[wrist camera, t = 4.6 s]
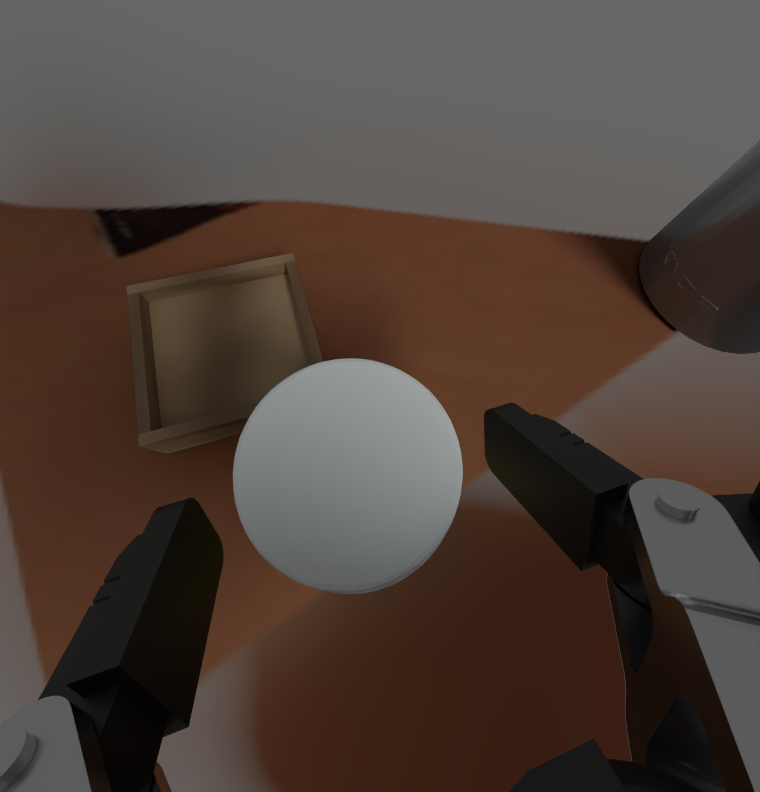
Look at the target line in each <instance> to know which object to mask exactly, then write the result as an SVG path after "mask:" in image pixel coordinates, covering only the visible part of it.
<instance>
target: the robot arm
mask: <svg viewBox="0 0 760 792" xmlns="http://www.w3.org/2000/svg"><path fill="white" fill-rule="evenodd" d="M639 272H640V278H641V282H642V285H643V288H644V291H645V292H646V294H647V296H648V298H649V300H650V302H651V303H652V305H653V306H654V307H655V308H656V310H657V311H658V312H659V313H660V315H661V316H662V317H663V318H664V319H665V320H666V321H668V322H669V323H670V324H671V325H672V326H673V327H674V328H675V329H677V330H678V331H680V332H681V333H683V334H684V335H686V336H687V337H689V338H690V339H692V340H694V341H696V342H698V343H700V344H702V345H704V346H706V347H709V348H713V349H716V350H719V351H723V352H728V353H736V354H749V353H757V352H760V140H759V141H758V142H757V143H756V144H755V145H754V146H753V147H752V148H751V149H749V150H748V151H747V152H746V153H745V154H744V155H743V156H742V157H741V158H740V159H739V160H737V161H736V162H735V163H734V164H733V165H732V166H731V167H730V168H729V169H728V170H726V171H725V172H724V173H723V174H722V175H721V176H720V177H719V178H718V179H717V180H715V181H714V182H713V183H712V184H711V185H710V186H709V187H708V188H707V189H705V190H704V191H703V192H702V193H701V194H700V195H699V196H698V197H697V198H696V199H695V200H693V201H692V202H691V203H690V204H689V205H688V206H687V207H686V208H685V209H684V210H683V211H681V213H679V214H678V215H677V216H676V217H675V218H674V219H673V220H672V221H671V222H670V223H668V225H666V226H665V227H664V228H663V229H662V230H661V231H660V232H659V233H658V234H657V235H656V236H654V237H653V238H652V239H651V240H650V241H649V242H648V243H647V244H646V246H645V248H644V249H643V251H642V253H641V257H640V262H639ZM484 437H485V457H486V460H487V463H488V466H489V468H490V469H491V471H492V472H493V474H494V475H495V476H496V477H497V478H498V479H499V480H500V481H501V483H502V484H503V485H504V486H505V487H506V488H507V489H508V490H509V492H510V493H511V494H512V495H513V496H514V497H515V498H516V499H517V500H518V502H519V503H520V504H521V505H522V506H523V507H524V508H525V509H526V510H527V512H528V513H529V514H530V515H531V516H532V517H533V518H534V519H535V520H536V522H537V523H538V524H539V525H540V526H541V527H542V528H543V529H544V530H545V531H546V533H547V534H548V535H549V536H550V537H551V538H552V539H553V540H554V542H555V543H556V544H557V545H558V546H559V547H560V548H561V549H562V551H563V552H564V553H565V554H566V555H567V556H568V557H569V558H570V559H571V561H572V562H573V563H574V564H575V565H576V566H577V567H578V568H579V569H580V571H583V570H586V569H588V568H591V567H593V566H596V565H598V564H599V565H600V566H601V567H602V568H603V569H604V570H605V571H606V572H607V573H608V575H607V587H608V592H609V597H610V602H611V607H612V613H613V617H614V623H615V628H616V633H617V638H618V643H619V649H620V654H621V659H622V664H623V669H624V675H625V683H626V699H625V715H626V726H627V734H628V740H629V746H630V752H631V758H632V762H631V761H624V760H617V759H606V758H605V756H604V755H603V753H602V751H601V750H600V748H599V746H598V745H597V743H596V742H595V740H594V739H592V740H590V741H588V742H586V743H584V744H582V745H580V746H578V747H576V748H574V749H572V750H570V751H568V752H566V753H564V754H562V755H560V756H558V757H556V758H554V759H552V760H550V761H548V762H546V763H544V764H542V765H540V766H538V767H536V768H534V769H532V770H530V771H528V772H526V773H525V774H524V776H523V777H522V778H521V779H520V780H519V782H518V783H517V784H516V785H515V786H514V787H513V789H512V790H511V791H510V792H760V481H759V483H758V485H757V487H756V489H755V491H754V493H753V494H733V495H713V496H710V495H708V494H707V493H705V492H704V491H702V490H700V489H698V488H696V487H693V486H691V485H688V484H685V483H682V482H679V481H674V480H670V479H662V478H649V479H643V478H641V477H639V476H638V475H636V474H635V473H633V472H632V471H630V470H629V469H627V468H625V467H624V466H623V465H621V464H620V463H618V462H617V461H615V460H614V459H612V458H611V457H609V456H608V455H606V454H604V453H603V452H601V451H600V450H598V449H597V448H595V447H594V446H592V445H591V444H589V443H588V442H587V443H585V442H584V440H583V439H582V438H580V437H578V436H577V435H576V434H571V432H570V431H569V430H568V429H566V428H565V427H563V426H562V425H560V424H559V423H557V422H556V421H554V420H551V419H548V418H545V417H542V416H539V415H536V414H533V415H531V414H529V413H528V412H526V411H525V410H524V409H522V408H521V407H519V406H518V405H516V404H515V403H509V404H505V405H502V406H499V407H495V408H492V409H489V410H486V412H485V414H484ZM222 565H223V546H222V543H221V540H220V537H219V536H218V534H217V532H216V531H215V529H214V527H213V526H212V524H211V522H210V521H209V519H208V517H207V516H206V514H205V512H204V511H203V509H202V507H201V506H200V504H199V503H198V501H197V500H196V499H194V498H188V499H185V500H182V501H178V502H175V503H172V504H168V505H165V506H161V507H158V508H157V509H156V510H155V511H154V513H153V514H152V516H151V518H150V520H149V522H148V524H147V526H146V528H145V530H144V532H143V534H142V535H138V536H136V537H135V539H134V540H133V541H132V542H131V543H130V544H129V545H128V546H127V547H126V548H125V550H124V551H123V552H122V553H121V554H120V555H119V556H118V557H117V559H116V560H115V562H114V564H113V566H112V568H111V569H110V571H109V573H108V575H107V577H106V578H105V580H104V582H105V584H104V585H103V586H101V587H100V589H99V591H98V593H97V595H96V596H95V598H94V600H93V606H91V607H89V609H88V611H87V613H86V615H85V616H84V618H83V620H82V622H81V624H80V625H79V627H78V629H77V631H76V633H75V634H74V636H73V638H72V640H71V642H70V643H69V645H68V647H67V649H66V651H65V652H64V654H63V656H62V658H61V660H60V661H59V663H58V665H57V667H56V669H55V671H54V672H53V674H52V676H51V678H50V680H49V681H48V683H47V685H46V687H45V689H44V690H43V692H42V694H41V696H40V697H39V699H38V700H37V701H35V702H33V703H31V704H30V705H28V706H26V707H24V708H23V709H21V710H20V711H18V712H16V713H15V714H14V715H12V716H11V717H10V718H8V719H7V720H6V721H4V722H3V723H2V724H1V725H0V792H172V791H171V789H170V786H169V784H168V781H167V779H166V776H165V774H164V771H163V769H162V767H161V766H160V764H159V763H158V762H157V757H158V753H159V749H160V745H161V741H162V738H163V737H165V736H167V735H170V734H172V733H175V732H177V731H180V730H182V729H185V728H187V727H189V723H190V718H191V713H192V708H193V704H194V699H195V694H196V689H197V685H198V680H199V675H200V670H201V666H202V661H203V656H204V651H205V647H206V642H207V637H208V632H209V627H210V623H211V618H212V613H213V608H214V604H215V599H216V594H217V589H218V584H219V580H220V575H221V570H222Z"/></svg>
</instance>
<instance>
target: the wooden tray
mask: <svg viewBox="0 0 760 792" xmlns="http://www.w3.org/2000/svg"><path fill="white" fill-rule="evenodd" d="M126 288H127V301H128V314H129V327H130V340H131V353H132V367H133V380H134V393H135V406H136V419H137V432H138V446H139V447H142V448H146V449H150V450H154V451H158V452H162V453H166V454H169V453H173V452H176V451H180V450H184V449H187V448H191V447H194V446H198V445H202V444H205V443H209V442H213V441H216V440H220V439H223V438H227V437H231V436H234V435H238V434H241V433H242V431H243V429H244V427H245V425H246V423H247V421H248V419H249V417H250V416H251V414H252V412H253V411H254V409H255V407H256V406H257V405H258V404H259V403H260V401H261V400H262V399H263V398H264V397H265V396H266V395H267V394H268V392H269V391H271V390H272V389H273V388H274V387H275V386H276V385H277V384H279V383H280V382H281V381H283V380H284V379H285V378H287V377H289V376H290V375H292V374H294V373H295V372H297V371H299V370H302V369H304V368H306V367H308V366H311V365H314V364H316V363H319V362H323V358H322V354H321V351H320V347H319V344H318V340H317V336H316V333H315V329H314V326H313V322H312V318H311V315H310V311H309V308H308V304H307V300H306V297H305V293H304V290H303V286H302V282H301V279H300V275H299V272H298V268H297V264H296V261H295V257H294V253H289V254H284V255H279V256H274V257H269V258H264V259H259V260H254V261H249V262H244V263H239V264H234V265H229V266H224V267H219V268H214V269H209V270H204V271H199V272H194V273H189V274H184V275H179V276H174V277H169V278H164V279H159V280H154V281H149V282H144V283H139V284H133V285H128V286H126Z"/></svg>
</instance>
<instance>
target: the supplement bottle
mask: <svg viewBox="0 0 760 792" xmlns="http://www.w3.org/2000/svg"><path fill="white" fill-rule="evenodd" d="M462 477H463V466H462V456H461V450H460V446H459V442H458V438H457V436H456V433H455V430H454V427H453V425H452V423H451V420H450V418H449V417H448V415H447V413H446V411H445V410H444V408H443V407H442V405H441V404H440V403H439V401H438V400H437V399H436V398H435V396H434V395H433V394H432V393H431V392H430V391H429V390H428V389H427V388H425V387H424V386H423V385H422V384H421V383H420V382H418V381H417V380H416V379H414V378H413V377H411V376H410V375H408V374H406V373H405V372H403V371H401V370H399V369H397V368H395V367H392V366H390V365H387V364H384V363H380V362H377V361H373V360H367V359H358V358H347V359H335V360H329V361H324V362H319V363H316V364H314V365H311V366H308V367H306V368H304V369H302V370H299V371H297V372H295V373H294V374H292V375H290V376H289V377H287V378H285V379H284V380H283V381H281V382H280V383H279V384H277V385H276V386H275V387H274V388H273V389H272V390H271V391H269V392H268V394H267V395H266V396H265V397H264V398H263V399H262V400H261V401H260V403H259V404H258V405H257V406H256V407H255V409H254V411H253V412H252V414H251V416H250V417H249V419H248V421H247V423H246V425H245V427H244V429H243V431H242V433H241V436H240V438H239V442H238V445H237V449H236V453H235V458H234V465H233V490H234V498H235V504H236V507H237V511H238V514H239V518H240V520H241V523H242V525H243V528H244V530H245V532H246V534H247V536H248V537H249V539H250V541H251V543H252V544H253V545H254V547H255V548H256V549H257V551H258V552H259V553H260V554H261V555H262V556H263V558H264V559H265V560H267V561H268V562H269V563H270V564H271V565H272V566H273V567H274V568H276V569H277V570H279V571H280V572H281V573H283V574H284V575H286V576H287V577H289V578H291V579H293V580H295V581H297V582H299V583H301V584H303V585H306V586H309V587H312V588H315V589H319V590H324V591H329V592H336V593H342V594H346V593H347V594H353V593H354V594H357V593H365V592H371V591H375V590H379V589H382V588H385V587H387V586H390V585H393V584H395V583H397V582H399V581H400V580H402V579H404V578H405V577H407V576H408V575H410V574H411V573H413V572H414V571H415V570H416V569H418V568H419V567H420V566H421V565H422V564H423V563H424V562H426V561H427V560H428V558H429V557H430V556H431V555H432V554H433V552H434V551H435V550H436V549H437V547H438V546H439V544H440V543H441V541H442V539H443V538H444V536H445V534H446V532H447V531H448V529H449V527H450V525H451V523H452V520H453V518H454V515H455V513H456V510H457V506H458V503H459V499H460V495H461V488H462Z"/></svg>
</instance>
